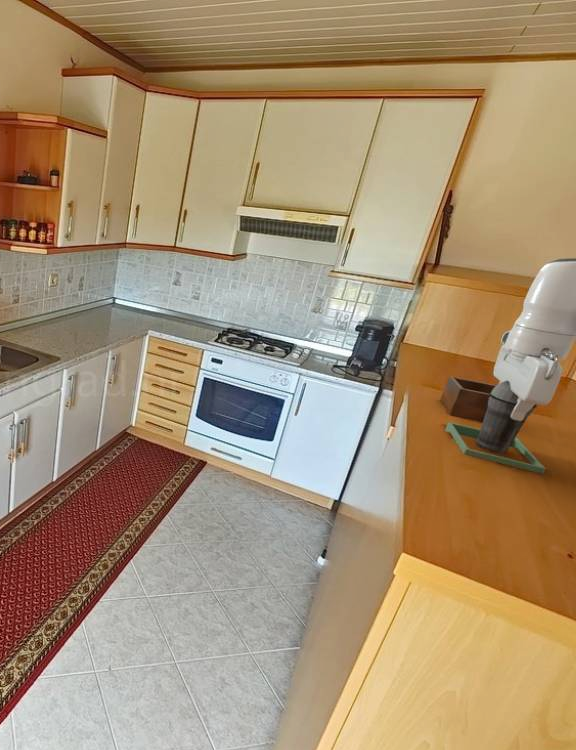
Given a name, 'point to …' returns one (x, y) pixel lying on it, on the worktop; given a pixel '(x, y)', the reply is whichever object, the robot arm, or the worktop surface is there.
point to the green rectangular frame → (474, 433)
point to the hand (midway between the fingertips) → (507, 411)
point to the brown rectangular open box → (466, 398)
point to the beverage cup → (500, 420)
